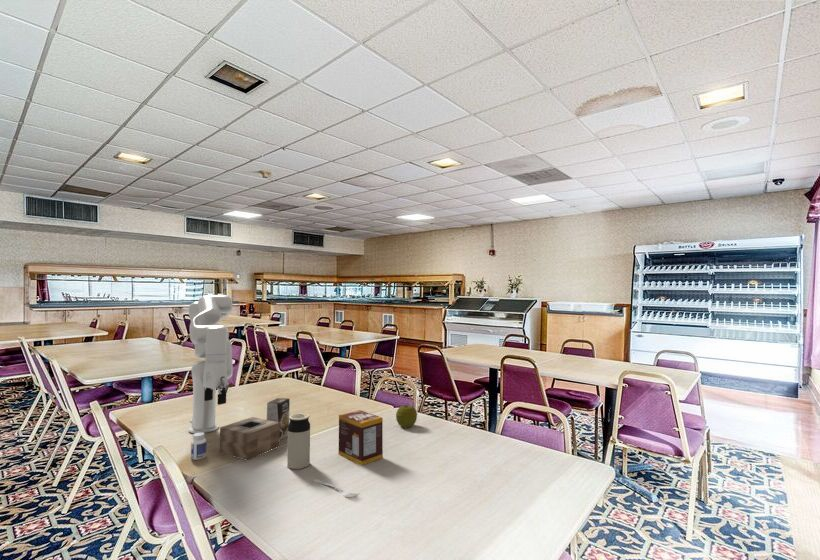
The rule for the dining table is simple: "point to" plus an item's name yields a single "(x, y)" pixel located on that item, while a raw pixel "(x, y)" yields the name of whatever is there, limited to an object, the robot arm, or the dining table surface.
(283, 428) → the coffee box
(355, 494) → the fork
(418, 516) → the dining table surface
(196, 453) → the pill bottle
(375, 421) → the supplement box
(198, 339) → the robot arm
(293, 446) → the travel mug
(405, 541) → the dining table surface
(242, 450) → the brown box with opening
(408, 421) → the apple
